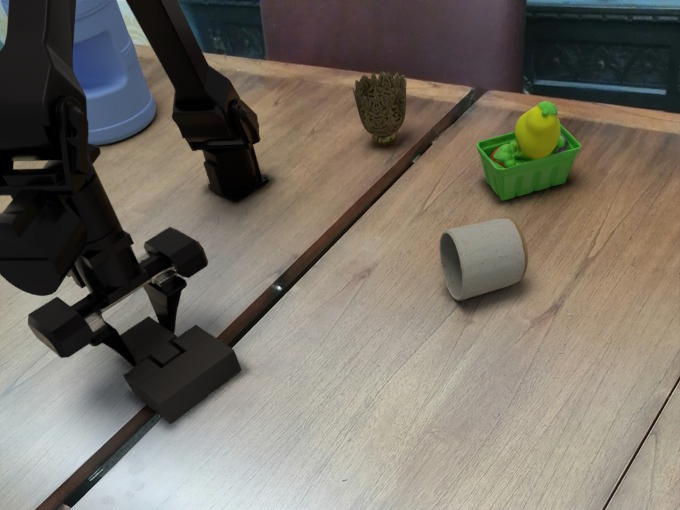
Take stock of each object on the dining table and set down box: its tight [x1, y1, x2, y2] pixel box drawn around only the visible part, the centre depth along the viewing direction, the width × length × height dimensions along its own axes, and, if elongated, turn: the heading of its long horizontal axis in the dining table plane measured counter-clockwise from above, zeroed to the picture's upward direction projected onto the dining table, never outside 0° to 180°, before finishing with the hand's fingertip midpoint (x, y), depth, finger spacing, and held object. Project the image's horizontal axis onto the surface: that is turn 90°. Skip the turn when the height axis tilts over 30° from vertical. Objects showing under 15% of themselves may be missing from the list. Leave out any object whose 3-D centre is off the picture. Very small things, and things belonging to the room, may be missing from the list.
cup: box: [352, 70, 408, 147], centre depth 98 cm, size 8×7×8 cm
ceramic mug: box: [438, 218, 529, 302], centre depth 78 cm, size 11×8×8 cm
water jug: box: [0, 0, 157, 146], centre depth 103 cm, size 16×16×28 cm
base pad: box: [122, 324, 242, 424], centre depth 75 cm, size 10×7×3 cm
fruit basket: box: [476, 100, 582, 201], centre depth 86 cm, size 11×9×11 cm
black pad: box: [120, 315, 181, 369], centre depth 78 cm, size 5×8×3 cm, turn 46°
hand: (151, 351), depth 79 cm, fingers closed on black pad, 5 cm apart
